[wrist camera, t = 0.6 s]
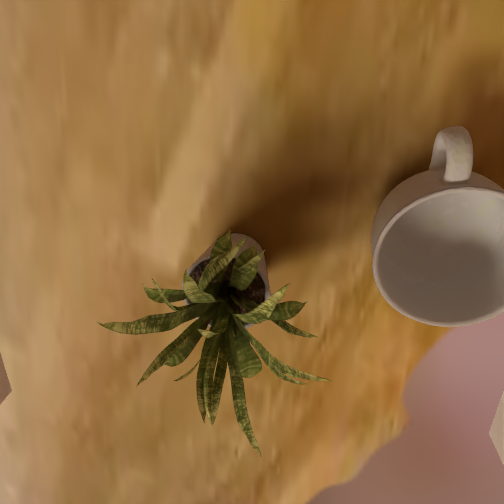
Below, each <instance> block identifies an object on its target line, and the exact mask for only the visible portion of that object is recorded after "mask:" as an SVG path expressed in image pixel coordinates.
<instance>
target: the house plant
mask: <svg viewBox="0 0 504 504" xmlns="http://www.w3.org/2000/svg"><path fill="white" fill-rule="evenodd" d="M264 251H265V250H264ZM264 251H263V250H262V248H261V246H260V245H259V244H258V241H257V242H256V241H255V240H254V239H252V238H251V237H249V236H248V235H247V236H246V235H244V234H238V233H233V234H231V229H230V230H229V232H228V233H226V234H225V235H223V236H222V237H220V238H219V239H218V240H216V241H215V242H214V243H213V244H212V245H211V246H210V247H209V248H208V249H207V250H206V251H205V252H204V253H203V254H202V255H201V256H200V257H199V258H198V259H197V260H196V261H195V262H194V263H193V264H192V266H191V267H190V268H189V270H188V271H187V269H186V271H187V272H186V271H185V273H184V280H183V283H182V290H171V289H160V288H159V286H158V285H157V284H156V282H155V281H154V280H153V279H152V280H153V282H154V283H155V285H156V287H157V289H151V288H147V287H145V286H144V285H143V284H142V285H143V287H144V289H145V291H146V293H147V295H148V297H149V298H150V299H152V300H153V301H156V302H159V303H166V304H167V305H168V306H169V307H170V308H171V309H173V310H175V311H177V312H173V313H166V314H158V315H149V316H146V317H144V318H141V319H139V320H136V321H133V322H111V323H104V324H100V323H99V322H98V323H99V324H100V325H102V326H103V327H105V328H108V329H110V330H113V331H115V332H118V333H124V334H135V335H136V334H146V333H155V332H163V331H167V330H171V329H173V328H175V327H177V326H178V325H180V324H182V323H184V322H186V321H189V320H191V319H194V318H197V320H196V321H195V322H193V323H192V324H191V325H190V326H189V327H188V328H187V329H186V330H185V331H184V332H183V333H182V334H181V335H180V336H179V337H178V338H177V339H175V340H174V341H173V342H172V343H171V344H169V345H168V346H167V347H166V348H165V349H164V350H163V351H162V352H161V353H160V354H159V355H158V356H157V357H156V359H155V360H154V361H153V362H152V364H151V365H150V366H149V368H148V369H147V370H146V372H145V373H144V375H143V376H142V378H141V380H140V381H139V383H138V384H137V386H138V385H139V384H140V383H141V382H143V381H144V380H146V379H147V378H148V377H149V376H150V375H151V374H152V373H153V372H154V371H156V370H157V369H159V368H160V367H161V366H162V365H163V364H164V365H168V366H171V367H172V366H176V365H179V364H180V363H182V362H183V361H184V360H185V359H186V358H187V357H188V356H189V354H190V353H191V351H192V350H193V349H194V347H195V346H196V344H197V343H198V341H199V340H200V338H201V337H202V336H204V337H206V339H205V342H204V346H203V349H202V354H201V359H200V360H199V361H200V364H199V368H198V373H197V384H196V385H197V400H198V405H199V410H200V412H201V415H202V419H203V421H204V420H205V416H206V412H207V415H208V417H209V419H210V422H211V424H212V421H213V423H214V421H215V418H216V415H217V410H218V406H219V402H220V397H221V392H222V387H223V382H224V378H225V373H226V368H227V362H228V366H229V370H230V378H231V386H232V394H233V402H234V408H235V412H236V417H237V421H238V423H239V425H240V427H241V428H242V430H243V432H244V433H245V435H246V436H247V438H248V440H249V442H250V444H251V445H252V447H253V448H254V449H255V450H256V451H257V452H258V453H259V454H260V455H261V452H260V450H259V447H258V445H257V442H256V439H255V437H254V434H253V431H252V427H251V424H250V420H249V417H248V412H247V407H246V401H245V392H244V383H243V379H242V377H245V378H248V377H253V376H255V375H256V374H257V373H258V372H260V371H261V369H262V363H261V360H260V359H259V357H258V356H257V354H256V353H255V351H254V350H253V348H252V347H251V345H250V342H251V344H252V345H253V346H254V348H255V349H256V351H257V352H258V354H259V355H260V356H261V358H262V359H263V361H264V362H265V363H266V365H267V366H268V367H269V368H270V370H271V371H273V372H274V373H275V374H276V375H277V376H278V377H280V378H282V379H284V380H286V381H289V382H293V383H296V384H305V383H302V382H299V381H296V380H294V379H291V378H289V377H287V376H285V375H284V374H286V375H290V376H293V377H297V378H303V379H308V380H314V381H327V380H328V379H325V378H321V377H317V376H314V375H311V374H308V373H304V372H301V371H299V370H296V369H294V368H292V367H289V366H287V365H285V364H283V363H282V362H280V361H279V360H277V359H276V358H274V357H273V356H272V355H271V354H270V353H269V352H268V351H267V350H266V349H265V348H264V347H263V346H262V345H261V344H260V343H259V342H258V341H257V340H256V339H255V338H254V337H253V336H252V335H251V334H250V333H249V332H248V331H247V330H246V329H245V328H248V327H250V326H252V325H254V324H257V323H261V322H263V321H265V320H272V321H273V322H274V323H276V324H277V325H278V326H280V327H281V328H282V329H284V330H285V331H287V332H288V333H291V334H294V335H299V336H303V337H309V338H311V337H316V336H314V335H312V334H309V333H307V332H304V331H302V330H299V329H297V328H296V327H294V326H292V325H290V324H289V323H287V322H286V321H284V320H287V319H291V318H292V317H294V316H295V315H296V314H298V313H299V312H300V310H301V309H302V308H303V306H304V305H305V304H306V302H305V303H301V302H296V301H288V302H283V303H279V304H278V302H279V301H280V300H281V299H282V298H283V296H284V295H285V292H286V290H287V287H288V285H289V284H287V285H285V286H284V287H282V288H281V289H280V290H278V291H277V292H275V293H274V294H272V295H271V293H270V286H269V280H268V274H267V268H266V262H265V256H264ZM290 284H291V283H290ZM181 300H184V301H185V304H186V306H182V307H176V306H172V305H171V304H170V302H176V301H181ZM207 326H209V327H210V330H209V331H208V330H206V328H207ZM317 338H318V337H317ZM249 341H250V342H249ZM219 347H220V348H219ZM218 352H219V357H218V362H217V367H216V372H215V377H214V382H213V375H214V370H215V366H216V361H217V356H218ZM199 361H198V363H199ZM198 363H197V364H198ZM197 364H196V365H195V366H194V367H193V368H192V369H191V370H190V371H189V372H187V373H186V374H184V375H183V376H181V377H180V378H178V379H177V380H173V381H178V380H181V379H183V378H185V377H186V376H188V375H189V374H190V373H191V372H192V371H193V370H194V369H195V367H196V366H197ZM273 366H274V367H275V368H274V367H273ZM277 369H278V370H279V371H281V372H282V373H284V374H282V373H281V372H279V371H278V370H277ZM329 381H331V380H329ZM307 385H308V384H307ZM211 407H212V410H211ZM204 423H205V421H204ZM212 425H213V424H212Z"/></svg>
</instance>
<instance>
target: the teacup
mask: <svg viewBox="0 0 504 504" xmlns="http://www.w3.org/2000/svg"><path fill="white" fill-rule="evenodd" d="M472 167H473V144H472V140H471V136H470V133H469V132H468V131H467V129H465V128H464V127H462V126H452V127H447V128H444V129H442V130H441V131H440V132H439V133H438V134H437V136H436V139H435V142H434V146H433V152H432V159H431V163H430V165H429V169H428V171H424V172H421V173H419V174H416V175H414V176H412V177H410V178H408V179H406V180H404V181H403V182H401V183H400V184H398V185H397V186H396V187H395V188H394V189H393V190H392V191H391V192H390V193H389V194H388V195H387V196H386V197H385V199H384V200H383V201H382V203H381V205H380V206H379V208H378V210H377V212H376V215H375V217H374V221H373V225H372V232H371V245H372V256H373V263H372V265H373V275H374V278H375V281H376V284H377V287H378V289H379V291H380V292H381V294H382V295H383V297H384V298H385V300H386V301H387V302H388V303H389V304H390V305H391V306H392V307H393V308H394V309H396V310H397V311H398V312H400V313H401V314H403V315H404V316H407V317H409V318H411V319H413V320H415V321H418V322H422V323H425V324H429V325H435V326H443V327H454V326H466V325H473V324H476V323H479V322H483V321H487V320H489V319H491V318H494V317H496V316H498V315H500V314H502V313H504V189H503V188H501V187H500V186H499V185H498V184H496V183H495V182H493V181H492V180H490V179H488V178H487V177H485V176H483V175H481V174H478V173H475V172H473V171H472Z"/></svg>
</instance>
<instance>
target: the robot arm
mask: <svg viewBox="0 0 504 504" xmlns="http://www.w3.org/2000/svg"><path fill="white" fill-rule="evenodd" d="M11 391H12V390H11V386H10V383H9V380H8V377H7V373H6V370H5V367H4V364H3V360H2V357H1V354H0V404H1V403H2V402H3V400H4V399H5V398H6V397H7V396H8V394H9V393H10V392H11ZM489 435H490V437H491V439H492V441H493V443H494V445H495V447H496V450H497V451H498V454H499V456H500V458H501V460H502V462H503V465H504V391H503V394H502V397H501V400H500V403H499V406H498V409H497V412H496V415H495V417H494V420H493V423H492V426H491V429H490V432H489Z"/></svg>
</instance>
